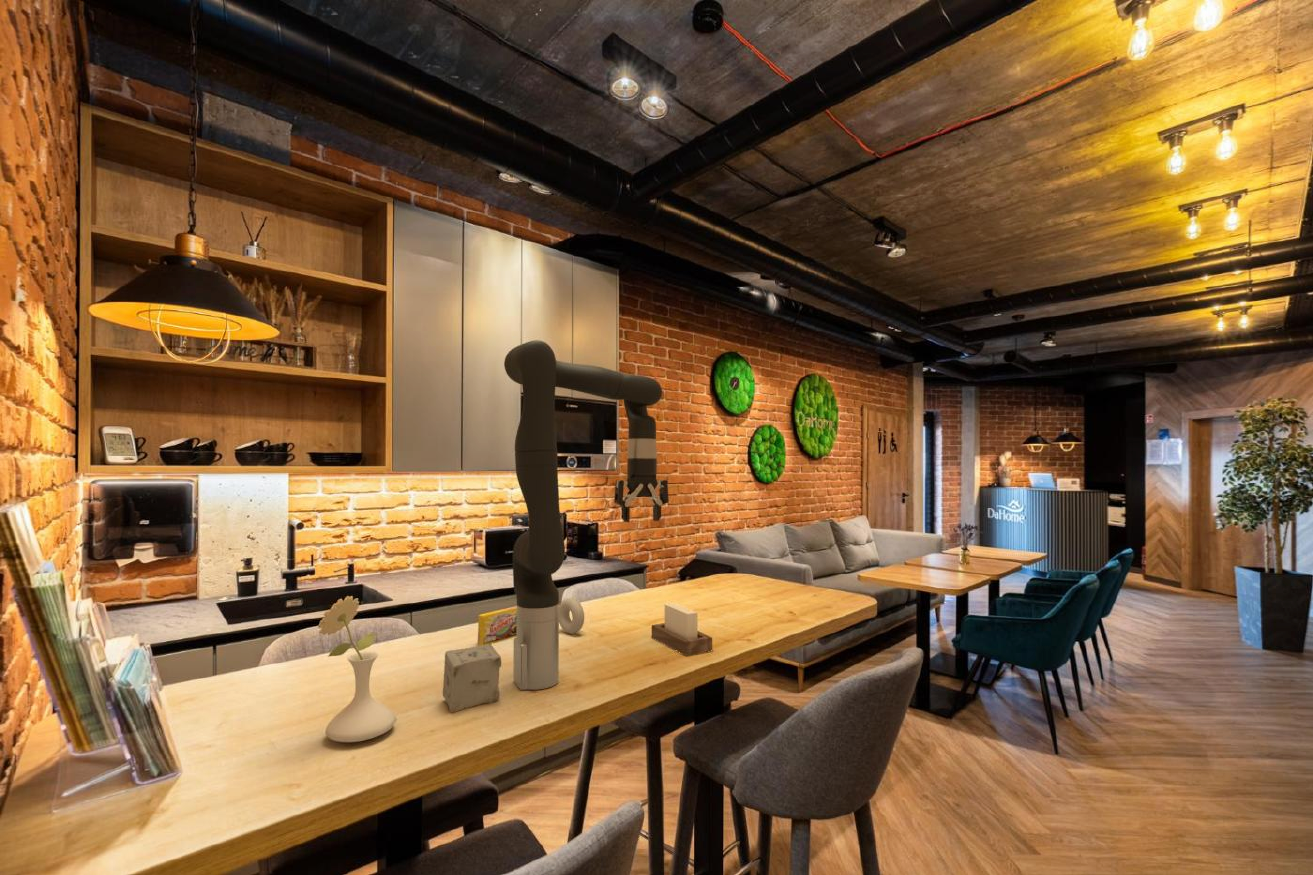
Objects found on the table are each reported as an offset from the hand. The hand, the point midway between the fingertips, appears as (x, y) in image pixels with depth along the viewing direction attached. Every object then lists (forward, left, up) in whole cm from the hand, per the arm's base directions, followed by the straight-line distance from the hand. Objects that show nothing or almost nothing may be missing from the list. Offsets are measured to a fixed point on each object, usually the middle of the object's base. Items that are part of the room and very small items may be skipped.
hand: (641, 521), depth 149 cm
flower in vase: (-64, -13, -34) cm, 74 cm away
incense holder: (-43, -8, -34) cm, 55 cm away
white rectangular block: (+14, +4, -33) cm, 36 cm away
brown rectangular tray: (+14, +4, -34) cm, 37 cm away
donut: (-8, +28, -34) cm, 45 cm away
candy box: (-26, +32, -34) cm, 53 cm away
